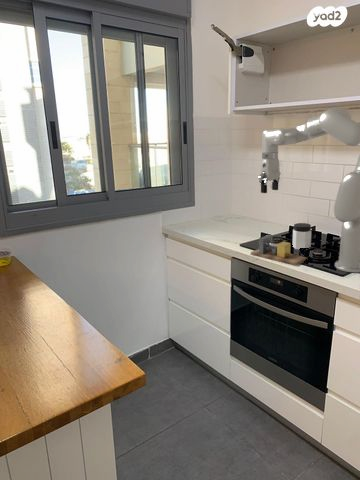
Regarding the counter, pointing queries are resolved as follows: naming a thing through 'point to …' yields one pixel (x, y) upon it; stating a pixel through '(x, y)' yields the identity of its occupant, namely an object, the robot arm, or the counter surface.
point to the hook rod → (281, 248)
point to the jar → (301, 235)
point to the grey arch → (262, 244)
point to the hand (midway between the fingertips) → (269, 191)
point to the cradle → (274, 251)
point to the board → (281, 258)
